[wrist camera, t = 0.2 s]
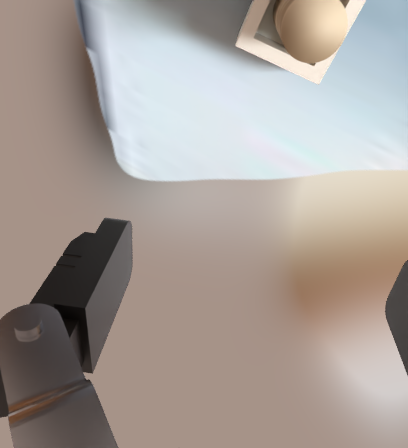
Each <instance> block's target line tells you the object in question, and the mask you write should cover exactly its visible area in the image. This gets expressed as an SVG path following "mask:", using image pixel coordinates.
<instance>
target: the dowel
mask: <svg viewBox="0 0 408 448" xmlns="http://www.w3.org/2000/svg"><path fill="white" fill-rule="evenodd" d="M273 21H274V24H275V27H276V29H277V31H278V33H279V36H280V38H281V40H282V42H283V44H284V47H285V49H286V50H287V52H288V53H289V54H290V55H291V56H292V57H293V58H294V59H296V60H298V61H300V62H304V63H317V62H320V61H323V60H325V59H327V58H329V57H330V56H331V55H333V54H334V53H335V52H336V51H337V50H338V48H339V47H340V46H341V44H342V43H343V41H344V38H345V36H346V32H347V27H348V19H347V13H346V10H345V8H344V6H343V4H342V3H341V2H340V1H339V0H276V2H275V4H274V7H273Z"/></svg>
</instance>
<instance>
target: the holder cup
mask: <svg viewBox="0 0 408 448" xmlns="http://www.w3.org/2000/svg"><path fill="white" fill-rule="evenodd" d="M339 1H340V2H341V3H342V4H343V6H344V8H345V10H346V13H347V19H348V27H347V32H346V35H347V33H348V32H349V30H350V28H351V26H352V24H353V23H354V21H355V19H356V17H357V15H358V14H359V12H360V10H361V8H362V7H363V5H364V3H365V1H366V0H339ZM275 2H276V0H252V2H251V5H250V7H249V10H248V12H247V14H246V17H245V19H244V22H243V24H242V27H241V29H240V31H239V34H238V36H237V40H236V45H235V46H236V47H239V48H241V49H243V50H245V51H247V52H249V53H251V54H254V55H256V56H258V57H260V58H262V59H264V60H267V61H269V62H271V63H273V64H275V65H277V66H279V67H282V68H284V69H286V70H288V71H290V72H292V73H294V74H297V75H299V76H301V77H303V78H305V79H307V80H310V81H312V82H314V83H316V84H318V85H319V83H320V82H321V80H322V78H323V76H324V74H325V73H326V71H327V69H328V67H329V65H330V64H331V62H332V60H333V58H334V57H335V55H336V53H337V51H338V50H337V51H336V52H335V53H334V54H333V55H331V56H330V57H329V58H327V59H325V60H323V61H320V62H317V63H304V62H300V61H298V60H296V59H294V58H293V57H292V56H291V55H290V54H289V53H288V52H287V50H286V49H285V47H284V44H283V42H282V40H281V38H280V36H279V33H278V31H277V29H276V27H275V24H274V21H273V7H274V4H275ZM345 37H346V36H345ZM344 39H345V38H344ZM339 48H340V47H339ZM339 48H338V49H339Z"/></svg>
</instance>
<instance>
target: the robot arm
mask: <svg viewBox="0 0 408 448" xmlns="http://www.w3.org/2000/svg"><path fill="white" fill-rule="evenodd" d="M131 271H132V224H131V221H126V220H119V219H111V218H104V220H103V221H102V223H101V224H100V226H99V228H98V229H97V231H96V233H88V232H84V233H83V234H81V235H80V236H78V237H77V238H75V239H74V240H72V241H71V242H70V244H69V245H68V247H67V248H66V250H65V251H64V253H63V256H61V257H60V259H59V260H58V262H57V264H56V266H54V268H53V269H52V271H51V272H50V274H49V275H48V277H47V278H46V280H45V281H44V283H43V284H42V286H41V287H40V289H39V290H38V292H37V293H36V295H35V296H34V298H33V299H32V301H31V302H30V304H27V305H23V306H20V307H17V308H15V309H13V310H11V311H10V312H8V313H7V314H6V315H4V316H3V317H2V318H1V319H0V417H6V416H8V420H9V426H10V431H11V436H12V441H13V446H14V448H118V446H117V443H116V441H115V439H114V436H113V433H112V431H111V428H110V426H109V423H108V421H107V418H106V416H105V414H104V411H103V408H102V406H101V403H100V401H99V398H98V396H97V394H96V391H95V389H94V387H93V384H92V383H91V381H90V380H86V378H85V376H84V374H83V372H87V373H93V371H94V369H95V366H96V364H97V361H98V358H99V356H100V354H101V351H102V349H103V346H104V344H105V341H106V339H107V336H108V333H109V331H110V328H111V325H112V323H113V321H114V318H115V316H116V313H117V311H118V308H119V306H120V303H121V300H122V298H123V296H124V293H125V291H126V288H127V286H128V283H129V280H130V276H131ZM385 309H386V310H385V312H386V319H387V322H388V324H389V327H390V330H391V332H392V335H393V338H394V340H395V343H396V346H397V348H398V351H399V354H400V356H401V359H402V361H403V364H404V366H405V369H406V372H407V375H408V260H407V261H406V262H405V263H404V265H403V267H402V269H401V271H400V273H399V275H398V277H397V280H396V281H395V284H394V286H393V288H392V290H391V292H390V294H389V296H388V298H387V301H386V308H385Z"/></svg>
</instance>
